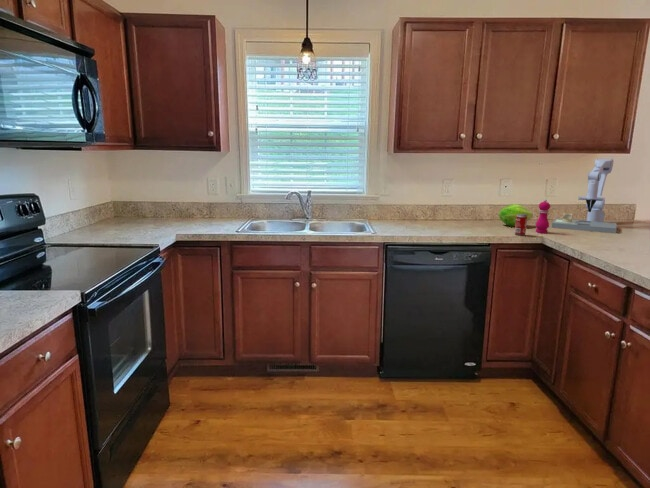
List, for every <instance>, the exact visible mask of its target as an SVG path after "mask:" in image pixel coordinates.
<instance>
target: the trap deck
mask: <svg viewBox="0 0 650 488" xmlns="http://www.w3.org/2000/svg"><path fill="white" fill-rule="evenodd" d="M562 220H563V218H560V217H559V218H558V217H556V218H555V219H554V221H552V223H551V228H554V229H564V230H575V231H586V232H596V233H597V232H598V233H609V234H617V226H618V225H617V222H606V221H604V222H596V221H587V220H584V219H581V220H580V219H572V222H571V223H570V222H562Z"/></svg>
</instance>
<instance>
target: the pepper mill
mask: <svg viewBox="0 0 650 488" xmlns="http://www.w3.org/2000/svg"><path fill="white" fill-rule="evenodd" d="M538 208H539V211H538V213H539V217H538V218H537V221H536V222H535V228H536V229H535V233H536V232H537V234H548V228H549V227H550V222H549V219H548V214H549V209H551V204H550V203H549V202H548V201H547V199H543V201H542V202H540V203H539V204H538Z"/></svg>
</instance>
